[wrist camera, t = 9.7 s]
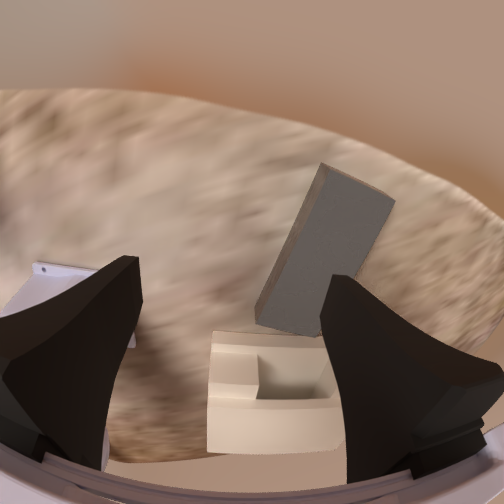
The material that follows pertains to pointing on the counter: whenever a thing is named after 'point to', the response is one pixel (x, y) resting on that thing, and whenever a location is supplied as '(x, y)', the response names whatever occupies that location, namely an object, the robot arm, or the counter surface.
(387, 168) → the counter surface
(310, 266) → the gray block
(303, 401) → the slotted box
